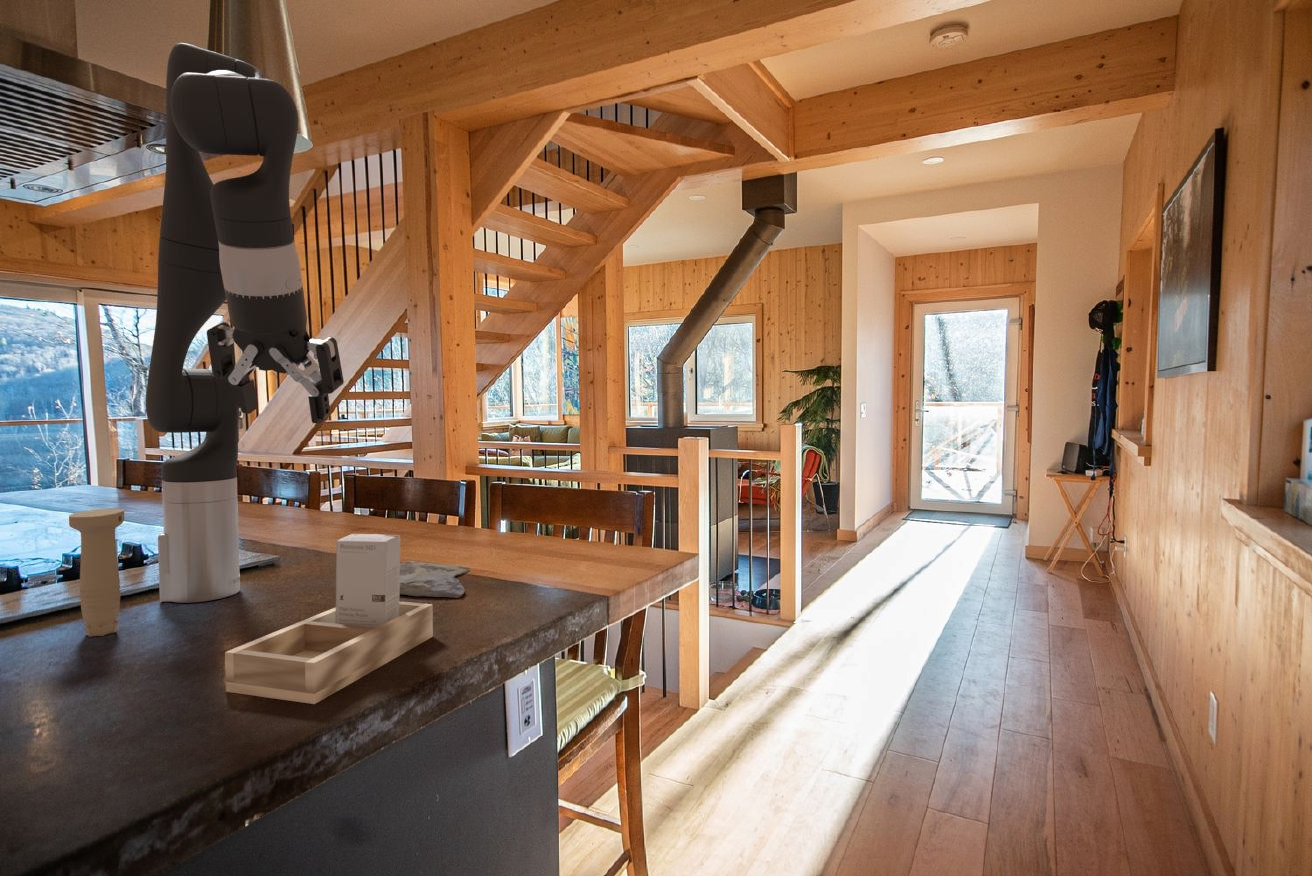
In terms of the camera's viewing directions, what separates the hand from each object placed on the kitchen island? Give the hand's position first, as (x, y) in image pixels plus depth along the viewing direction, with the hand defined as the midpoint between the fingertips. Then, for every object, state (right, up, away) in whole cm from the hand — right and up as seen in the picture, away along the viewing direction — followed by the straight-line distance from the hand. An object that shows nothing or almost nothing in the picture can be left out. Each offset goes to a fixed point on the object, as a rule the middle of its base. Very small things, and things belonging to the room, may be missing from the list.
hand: (284, 415), depth 84 cm
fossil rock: (+8, -26, +28) cm, 39 cm away
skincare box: (+11, -26, -1) cm, 28 cm away
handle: (-24, -27, +3) cm, 36 cm away
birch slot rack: (+9, -27, -5) cm, 29 cm away
